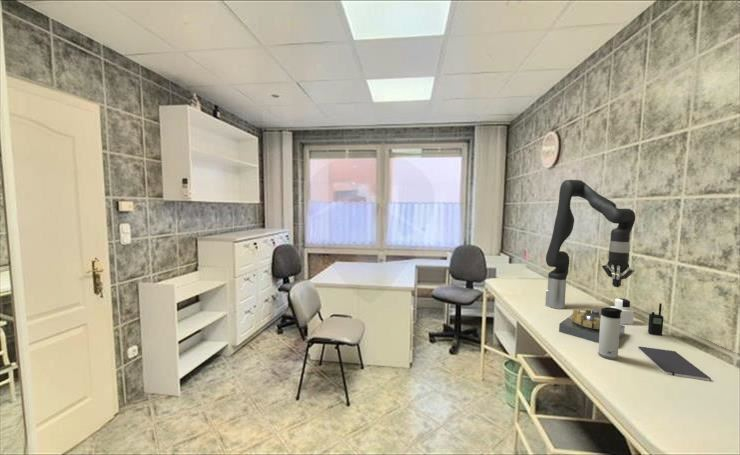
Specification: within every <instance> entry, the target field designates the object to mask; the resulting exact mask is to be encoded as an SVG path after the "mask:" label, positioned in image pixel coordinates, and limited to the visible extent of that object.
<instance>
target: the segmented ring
mask: <svg viewBox="0 0 740 455" xmlns="http://www.w3.org/2000/svg"><path fill="white" fill-rule="evenodd" d="M602 308H605V306H598V305H597V306H596V307H595V308H594V309H590V308H584V311H581V310H579V309H577V308H574V309H573V310H572V314H571V315H572V320H573V322H575V323H577V324H579V325H582V326H585V327H589V328H593V329H600V318H594V321H589V320H585V315H584V313H593V314H597V315H600V316H601V309H602Z"/></svg>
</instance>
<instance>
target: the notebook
mask: <svg viewBox="0 0 740 455" xmlns="http://www.w3.org/2000/svg"><path fill="white" fill-rule="evenodd" d="M637 348H638V351H640V352H641V353H642V354H643V355H644V357H646V358H647V359H648V360H649V361H650V362H652V364H653V365H655V367H657V369H659V371H661V372H662V373H663V374H665V375H669V376H673V377H675V376H676V377H683V378H689V379H697V380H703V381H709V382H711V381H712V378H711V377H710V376H708V374H706V373H704V372H703V371H702V370H700V369H699V368H698V367H697V366H695V365H694V364H692V363H691V361H689V360H687V358H685V357H684V356H683V355H681V354H680V353H678V352H677V351H676V350H669V349H661V348H655V347H647V346H637Z"/></svg>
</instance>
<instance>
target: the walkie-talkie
mask: <svg viewBox="0 0 740 455" xmlns="http://www.w3.org/2000/svg"><path fill="white" fill-rule="evenodd" d="M648 315H649V316H648V327H647V332H648V334H649V335H651V334H652V335H653V336H659V337H661V336H662V337H663V329H664V328H663V326H664V316H663V315H662V303H659V306H658V314H657V313H655V312H654V311H652V312H651V313H649V314H648Z"/></svg>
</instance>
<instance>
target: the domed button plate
mask: <svg viewBox="0 0 740 455" xmlns="http://www.w3.org/2000/svg"><path fill="white" fill-rule="evenodd" d="M584 315H585V320H589V321H594V318H600V319H601V316H600V315H597V314H593V313H592V312H591V313H584ZM625 328H626V327H625V325H624V324H620V333H619V341H620V340H621V339H622V337H623V336H624V335H625V332H626V331H625ZM558 333H562V334H566V335H569V336H572V337H577V338H580V339H583V340H586V341H590V342H594V343H597V344H599V334H600V329H593V328H589V327H585V326H582V325H579V324H577V323H575V322H573V320H572V314H571V315H570V316H568V317H566V319H564V320H562V321H561V322H560V323H559V324H558Z"/></svg>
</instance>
